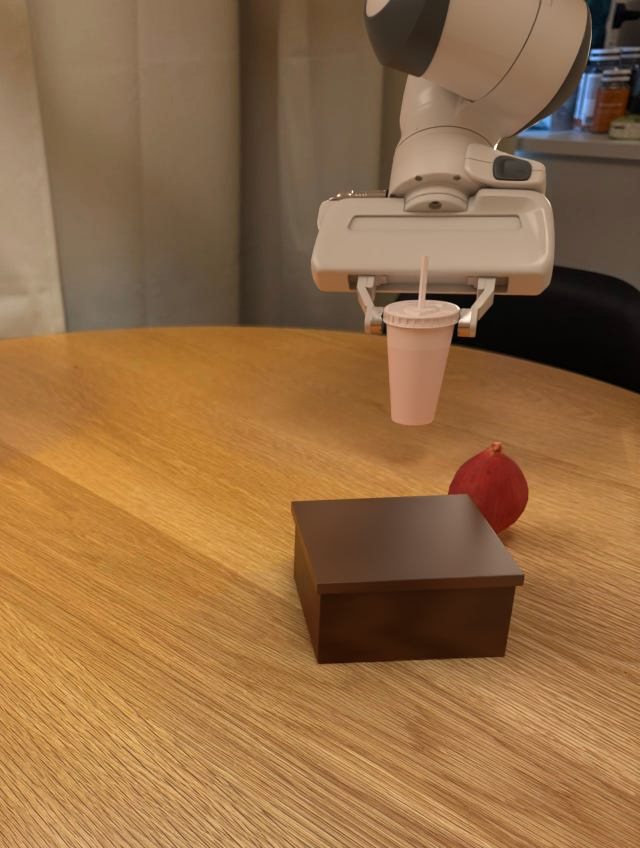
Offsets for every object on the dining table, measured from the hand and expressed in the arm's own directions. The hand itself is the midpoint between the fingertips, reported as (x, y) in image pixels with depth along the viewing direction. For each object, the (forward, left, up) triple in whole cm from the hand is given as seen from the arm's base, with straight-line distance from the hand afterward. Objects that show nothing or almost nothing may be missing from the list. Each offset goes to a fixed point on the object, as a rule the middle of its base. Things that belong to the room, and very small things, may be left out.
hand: (419, 332), depth 86 cm
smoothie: (0, -1, -8) cm, 8 cm away
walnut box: (+7, +26, -12) cm, 30 cm away
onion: (-2, +15, -13) cm, 20 cm away
